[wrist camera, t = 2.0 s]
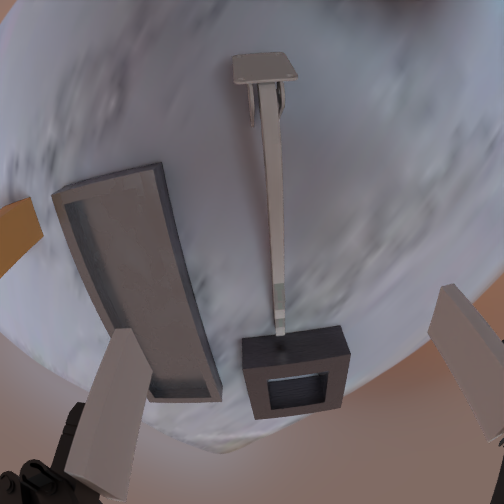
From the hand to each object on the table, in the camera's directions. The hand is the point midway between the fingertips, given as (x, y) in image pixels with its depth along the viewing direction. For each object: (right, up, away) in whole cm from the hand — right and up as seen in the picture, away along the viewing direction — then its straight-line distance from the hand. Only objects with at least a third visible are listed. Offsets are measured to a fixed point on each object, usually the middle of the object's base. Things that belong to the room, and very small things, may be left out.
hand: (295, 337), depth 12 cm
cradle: (-11, -2, +15) cm, 19 cm away
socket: (+3, -9, +20) cm, 22 cm away
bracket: (0, +7, +12) cm, 13 cm away
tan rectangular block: (-23, +6, +10) cm, 27 cm away
